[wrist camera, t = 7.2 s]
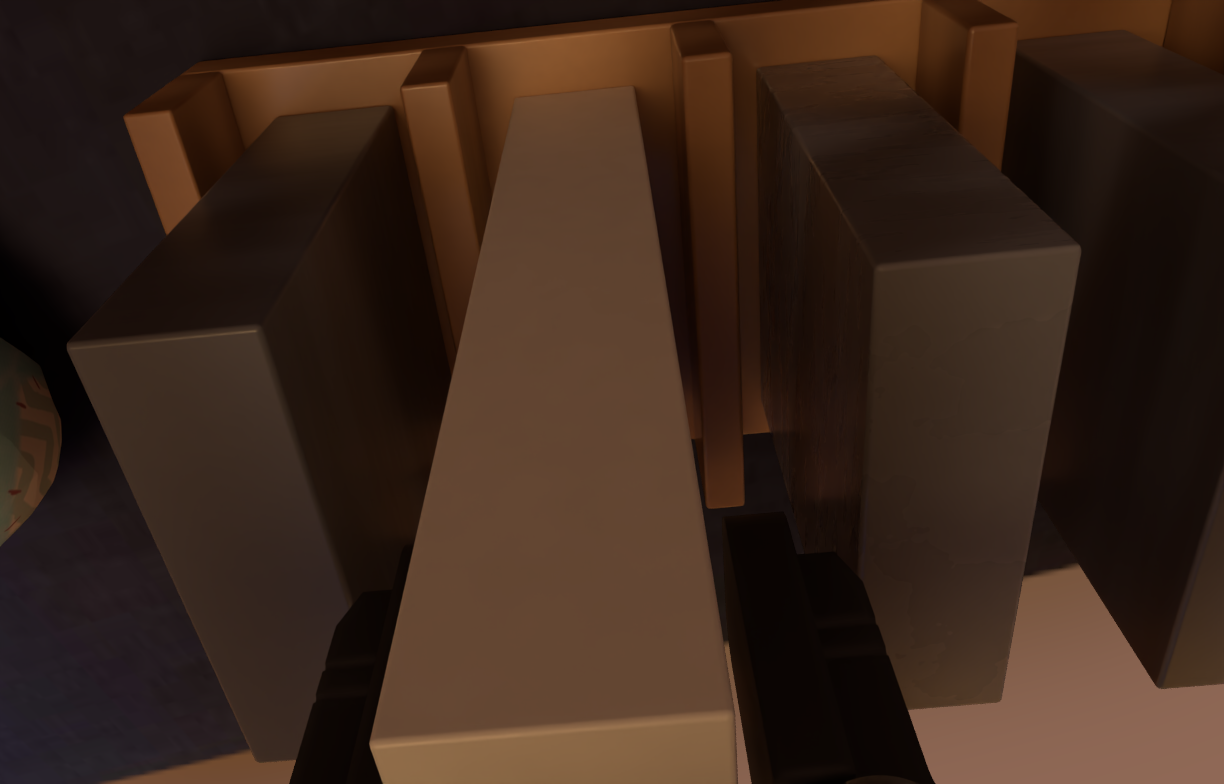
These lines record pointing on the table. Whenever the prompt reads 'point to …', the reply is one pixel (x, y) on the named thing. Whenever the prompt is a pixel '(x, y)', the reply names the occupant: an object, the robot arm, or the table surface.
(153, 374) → the brown wooden rack
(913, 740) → the robot arm
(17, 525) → the stuffed animal
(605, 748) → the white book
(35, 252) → the table surface
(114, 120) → the table surface
